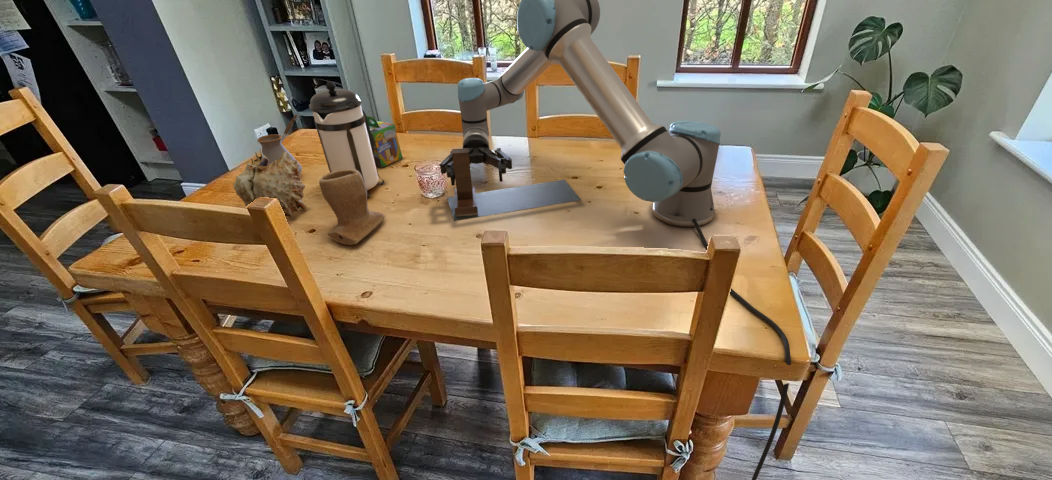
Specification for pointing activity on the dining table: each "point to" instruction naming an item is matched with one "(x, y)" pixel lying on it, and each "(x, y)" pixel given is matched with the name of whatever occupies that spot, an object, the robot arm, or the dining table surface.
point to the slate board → (519, 198)
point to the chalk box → (384, 142)
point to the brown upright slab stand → (463, 184)
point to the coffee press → (345, 133)
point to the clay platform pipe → (349, 206)
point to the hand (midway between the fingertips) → (476, 178)
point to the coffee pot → (276, 145)
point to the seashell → (272, 182)
